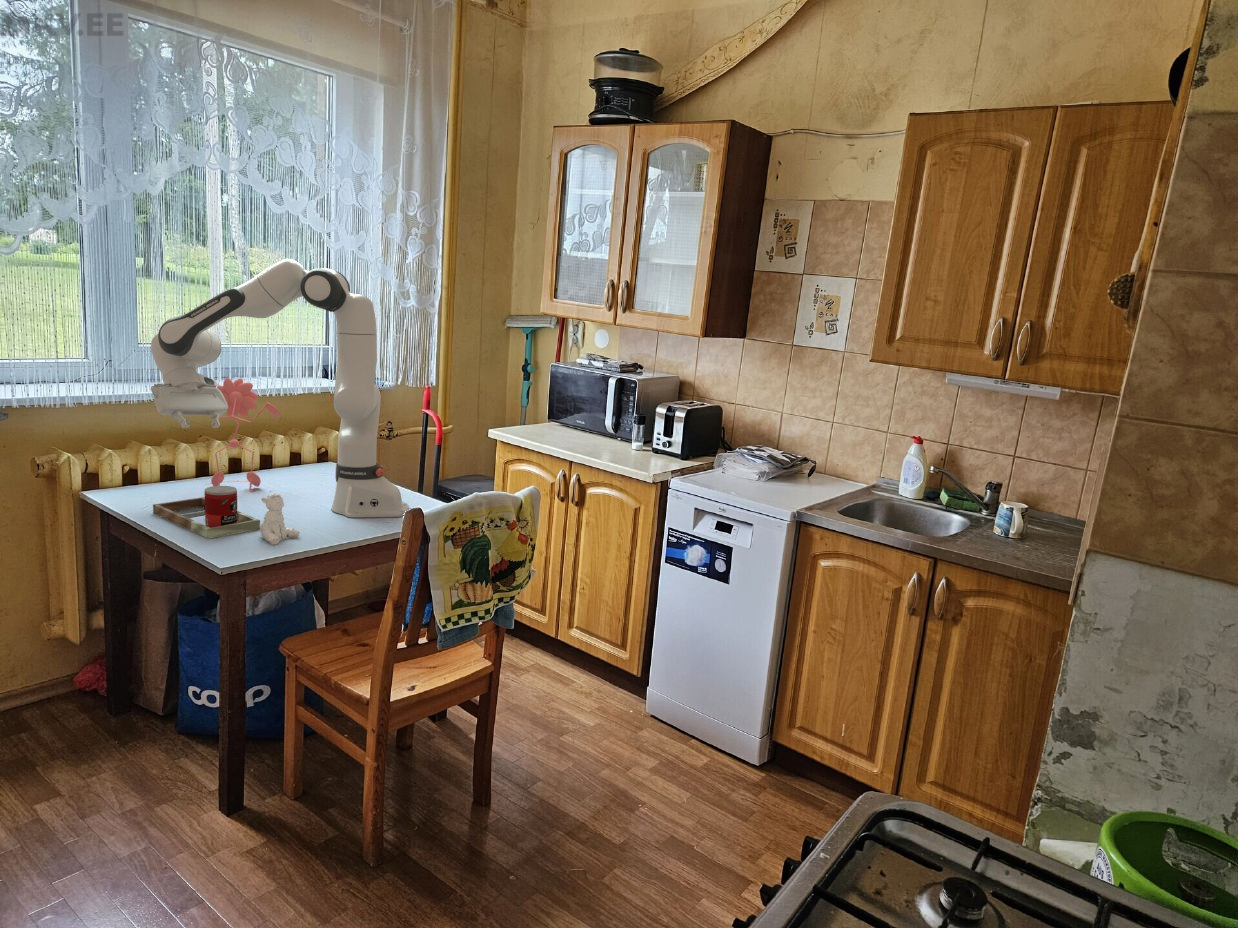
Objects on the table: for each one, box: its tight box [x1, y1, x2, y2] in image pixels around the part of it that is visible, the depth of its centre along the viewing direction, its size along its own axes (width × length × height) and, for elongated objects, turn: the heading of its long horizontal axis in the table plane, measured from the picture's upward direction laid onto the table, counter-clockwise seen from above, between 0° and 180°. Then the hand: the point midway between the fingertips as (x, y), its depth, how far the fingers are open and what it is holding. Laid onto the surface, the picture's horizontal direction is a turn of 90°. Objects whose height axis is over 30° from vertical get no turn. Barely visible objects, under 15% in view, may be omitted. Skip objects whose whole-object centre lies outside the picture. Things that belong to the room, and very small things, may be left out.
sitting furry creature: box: [259, 493, 300, 546], centre depth 213 cm, size 10×9×12 cm
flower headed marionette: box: [204, 377, 281, 493], centre depth 257 cm, size 15×26×35 cm, turn 108°
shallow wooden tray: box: [152, 496, 261, 540], centre depth 223 cm, size 30×14×2 cm, turn 53°
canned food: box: [204, 485, 238, 528], centre depth 217 cm, size 8×8×11 cm
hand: (201, 427), depth 228 cm, fingers open, 8 cm apart
